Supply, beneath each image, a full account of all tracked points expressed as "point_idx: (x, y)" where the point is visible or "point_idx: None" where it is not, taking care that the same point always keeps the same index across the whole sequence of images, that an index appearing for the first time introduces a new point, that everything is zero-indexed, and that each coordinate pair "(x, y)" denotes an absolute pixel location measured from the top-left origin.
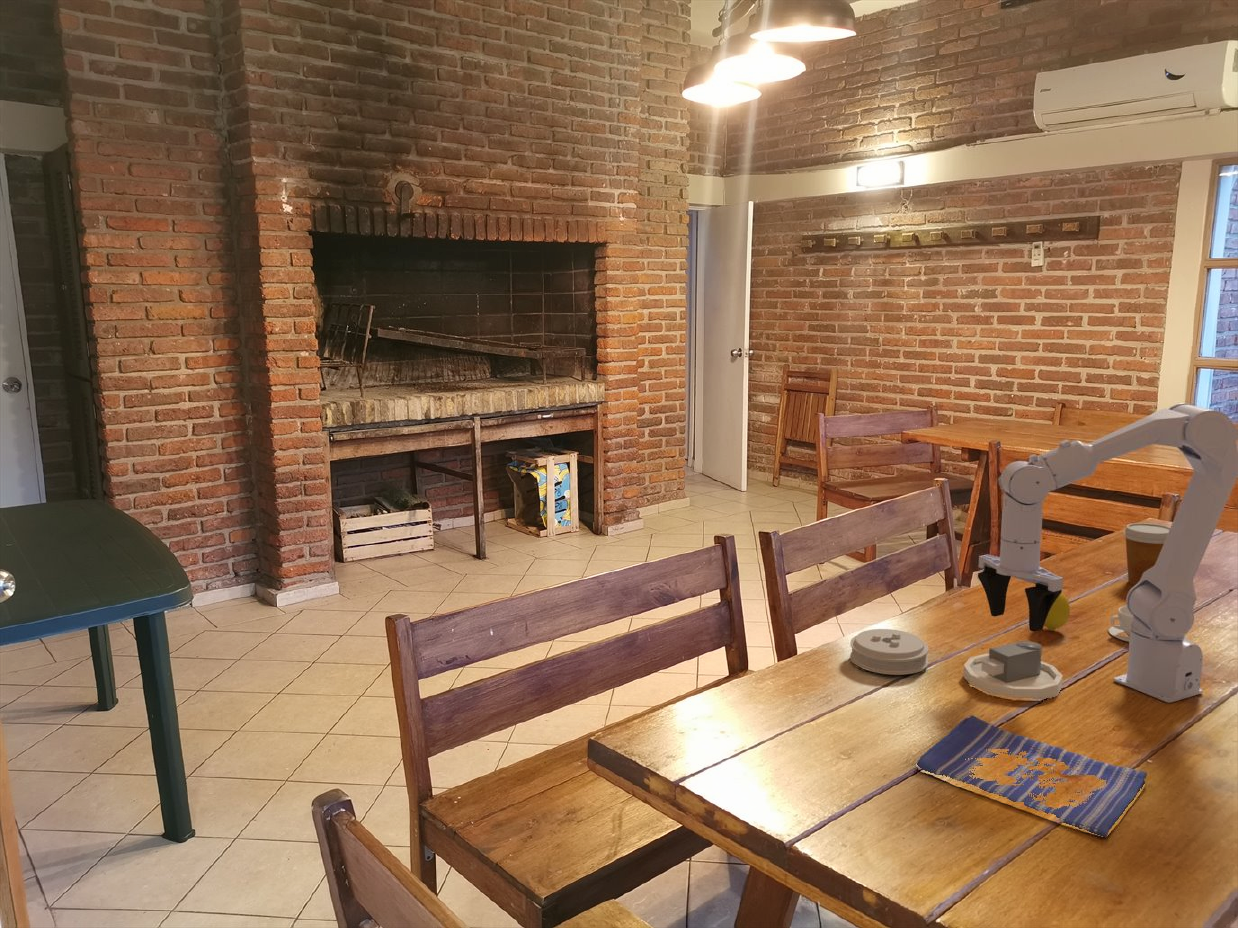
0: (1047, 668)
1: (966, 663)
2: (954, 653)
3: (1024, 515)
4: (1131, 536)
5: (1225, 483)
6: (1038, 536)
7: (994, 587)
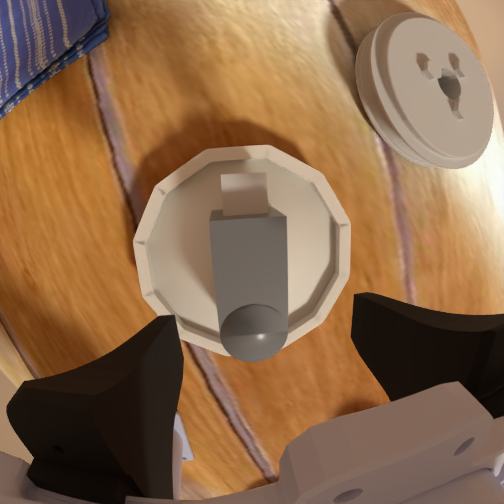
0: None
1: (327, 186)
2: (406, 247)
3: None
4: None
5: None
6: None
7: (426, 356)
